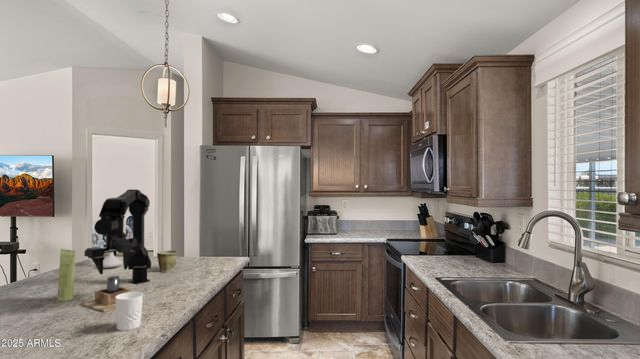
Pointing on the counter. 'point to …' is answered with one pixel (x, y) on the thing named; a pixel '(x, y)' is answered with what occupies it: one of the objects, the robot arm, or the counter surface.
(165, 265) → the ceramic cup
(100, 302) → the well
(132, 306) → the white cup
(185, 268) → the counter surface
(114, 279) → the peg
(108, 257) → the flower in vase
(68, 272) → the tube
